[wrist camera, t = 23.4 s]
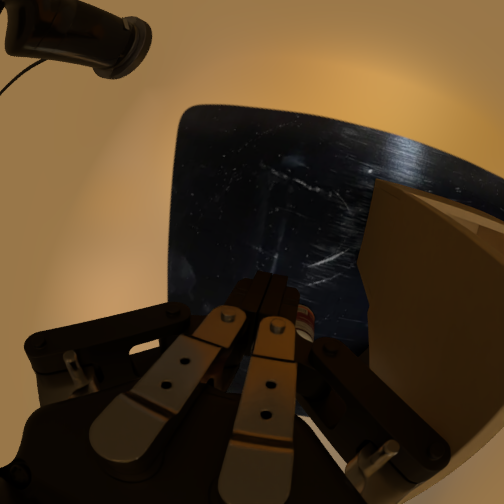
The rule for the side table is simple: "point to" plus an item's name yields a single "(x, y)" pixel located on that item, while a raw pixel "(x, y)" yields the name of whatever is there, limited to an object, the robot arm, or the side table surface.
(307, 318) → the pill bottle
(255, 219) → the side table surface
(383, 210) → the box
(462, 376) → the breadbox lid
